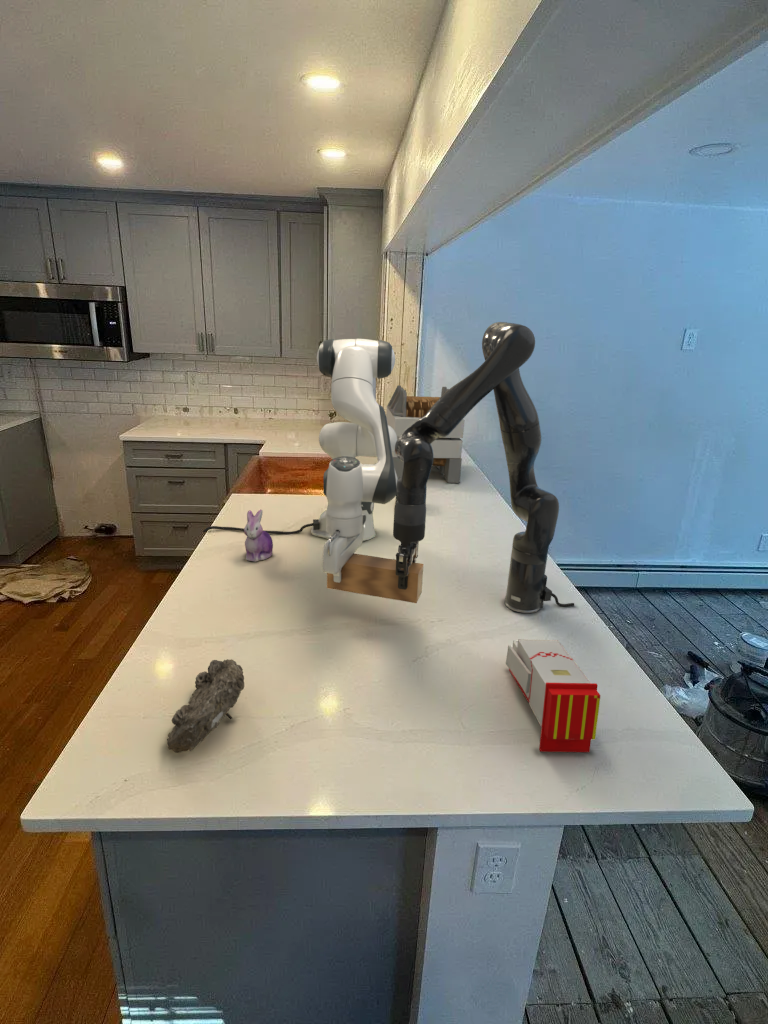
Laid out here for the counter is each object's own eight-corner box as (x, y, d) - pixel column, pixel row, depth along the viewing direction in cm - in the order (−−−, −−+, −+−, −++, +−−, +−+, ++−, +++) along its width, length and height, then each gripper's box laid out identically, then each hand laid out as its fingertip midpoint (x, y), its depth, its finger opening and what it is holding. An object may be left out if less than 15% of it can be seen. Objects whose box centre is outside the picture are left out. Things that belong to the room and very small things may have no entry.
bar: (326, 588, 142) (326, 559, 140) (335, 578, 148) (335, 550, 145) (416, 603, 137) (418, 573, 134) (421, 592, 142) (423, 563, 139)
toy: (554, 622, 128) (610, 691, 98) (548, 677, 130) (601, 759, 101) (501, 621, 127) (541, 690, 98) (496, 676, 130) (534, 758, 101)
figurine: (248, 564, 171) (246, 518, 166) (239, 551, 179) (237, 507, 174) (278, 559, 175) (277, 514, 170) (269, 547, 183) (267, 503, 178)
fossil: (192, 660, 117) (244, 628, 112) (224, 691, 120) (276, 661, 115) (142, 746, 98) (202, 712, 93) (182, 779, 101) (242, 748, 96)
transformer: (382, 463, 289) (386, 382, 275) (445, 464, 293) (451, 384, 279) (390, 482, 257) (394, 392, 243) (460, 483, 261) (468, 394, 247)
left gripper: (341, 541, 128) (340, 595, 133) (368, 512, 147) (367, 561, 152) (315, 537, 130) (315, 591, 135) (345, 509, 148) (344, 557, 153)
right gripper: (418, 531, 126) (414, 598, 132) (431, 511, 139) (426, 572, 145) (386, 527, 128) (383, 593, 133) (401, 507, 141) (398, 568, 146)
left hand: (343, 574), depth 143 cm, fingers closed on bar, 6 cm apart
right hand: (406, 582), depth 139 cm, fingers open, 6 cm apart
